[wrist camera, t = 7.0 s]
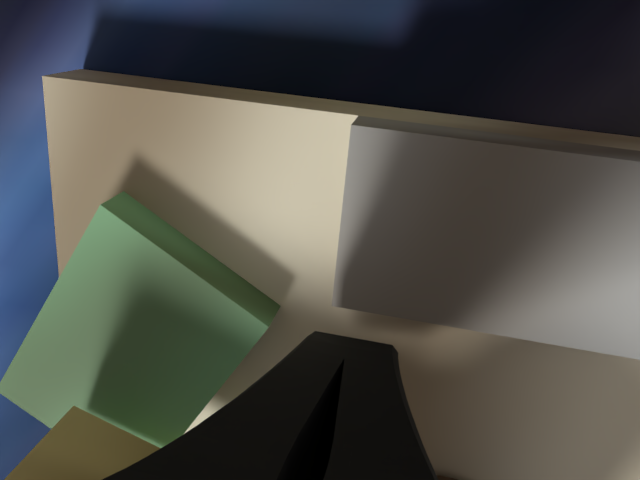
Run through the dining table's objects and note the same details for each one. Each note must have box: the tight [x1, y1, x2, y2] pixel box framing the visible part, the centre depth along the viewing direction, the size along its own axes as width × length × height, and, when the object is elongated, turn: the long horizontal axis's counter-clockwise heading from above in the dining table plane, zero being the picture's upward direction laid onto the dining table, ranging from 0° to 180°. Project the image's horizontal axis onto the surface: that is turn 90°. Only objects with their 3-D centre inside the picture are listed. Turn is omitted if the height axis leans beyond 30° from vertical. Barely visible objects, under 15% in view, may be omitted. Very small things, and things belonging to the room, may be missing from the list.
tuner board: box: [0, 69, 640, 480], centre depth 12 cm, size 16×11×2 cm
